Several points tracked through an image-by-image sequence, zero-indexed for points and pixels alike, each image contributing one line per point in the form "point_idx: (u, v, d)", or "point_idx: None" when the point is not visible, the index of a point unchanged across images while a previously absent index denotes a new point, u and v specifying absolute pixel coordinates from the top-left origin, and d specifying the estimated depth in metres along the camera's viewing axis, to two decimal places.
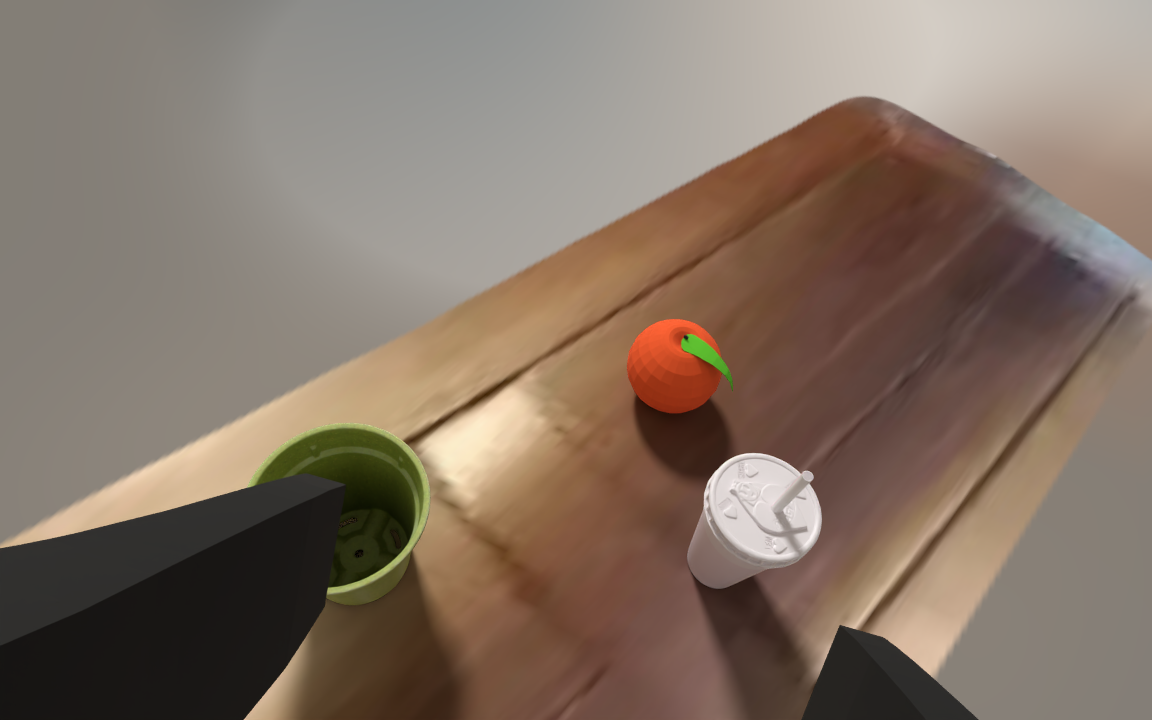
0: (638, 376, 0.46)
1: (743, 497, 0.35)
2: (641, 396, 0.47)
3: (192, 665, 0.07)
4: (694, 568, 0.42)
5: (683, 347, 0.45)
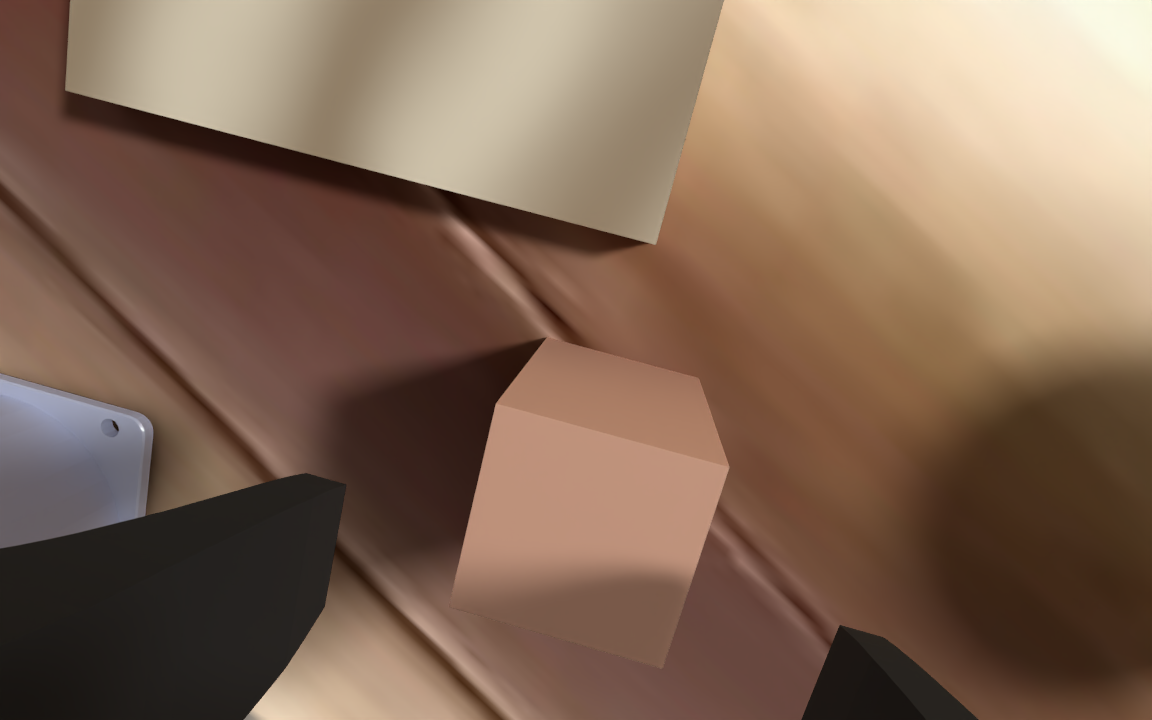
0: None
1: None
2: None
3: (192, 665, 0.07)
4: None
5: None
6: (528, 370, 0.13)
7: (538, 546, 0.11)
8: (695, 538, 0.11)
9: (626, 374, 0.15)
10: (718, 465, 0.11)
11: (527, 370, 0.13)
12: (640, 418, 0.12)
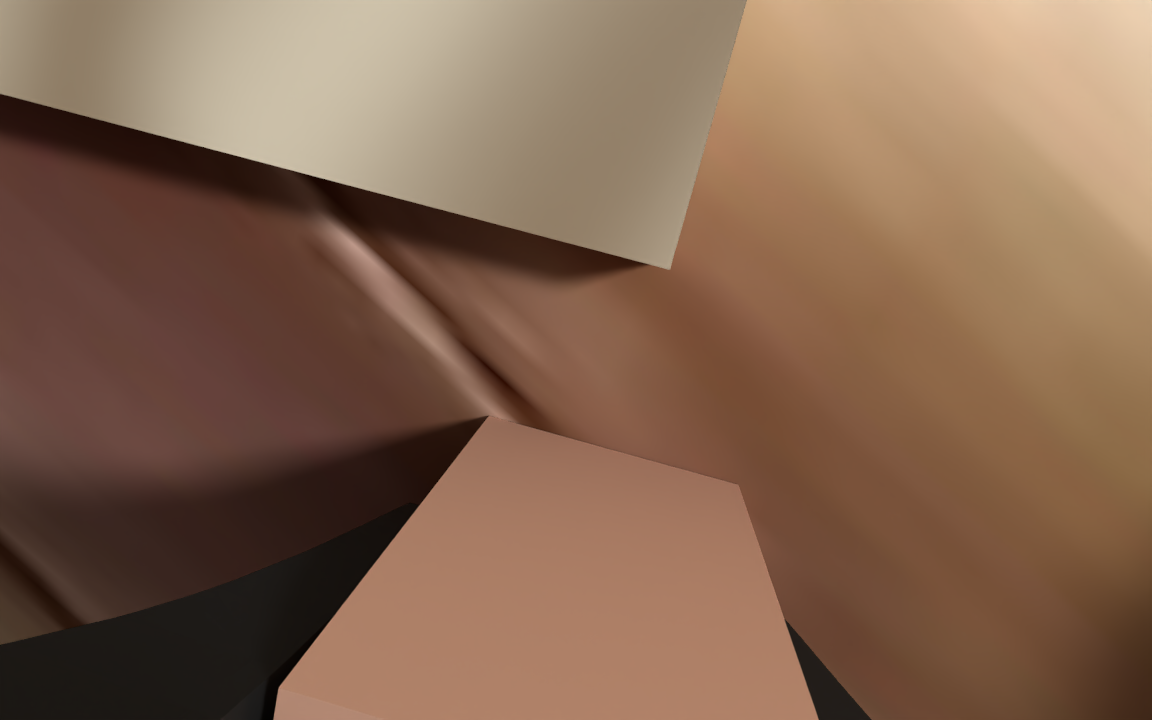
0: None
1: None
2: None
3: None
4: None
5: None
6: (422, 520, 0.07)
7: None
8: None
9: (616, 497, 0.08)
10: None
11: (418, 521, 0.07)
12: (640, 657, 0.06)
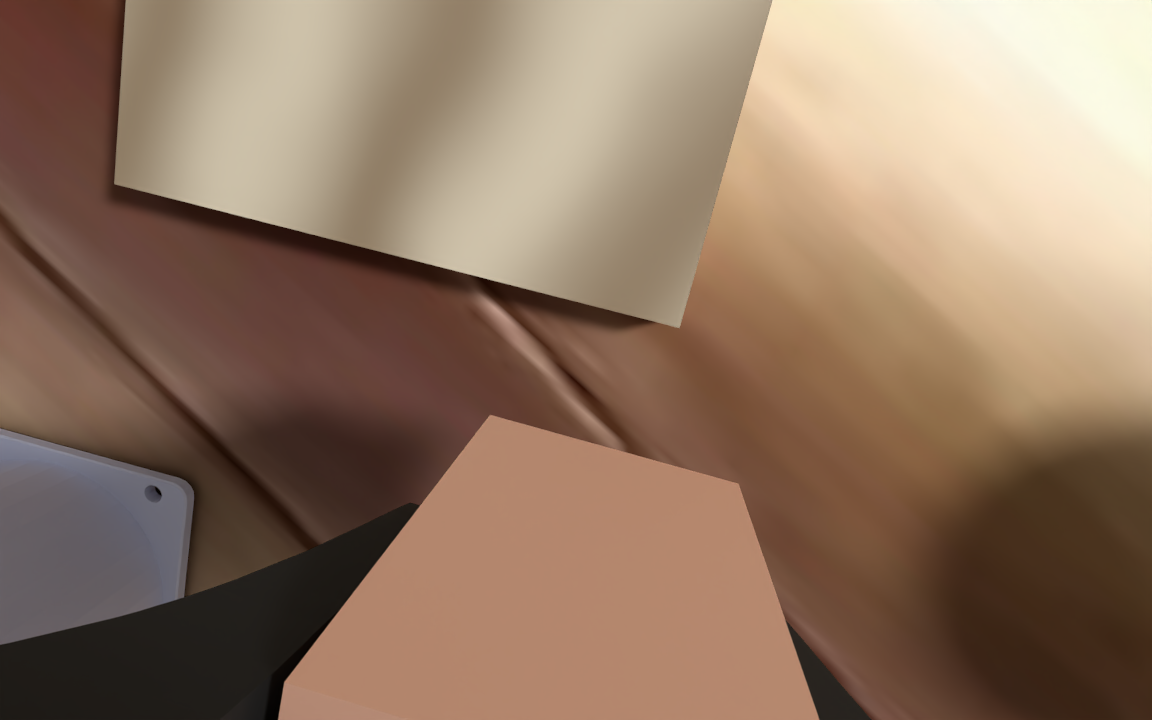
0: None
1: None
2: None
3: None
4: None
5: None
6: (423, 517, 0.07)
7: None
8: None
9: (617, 496, 0.09)
10: None
11: (421, 519, 0.07)
12: (642, 654, 0.06)
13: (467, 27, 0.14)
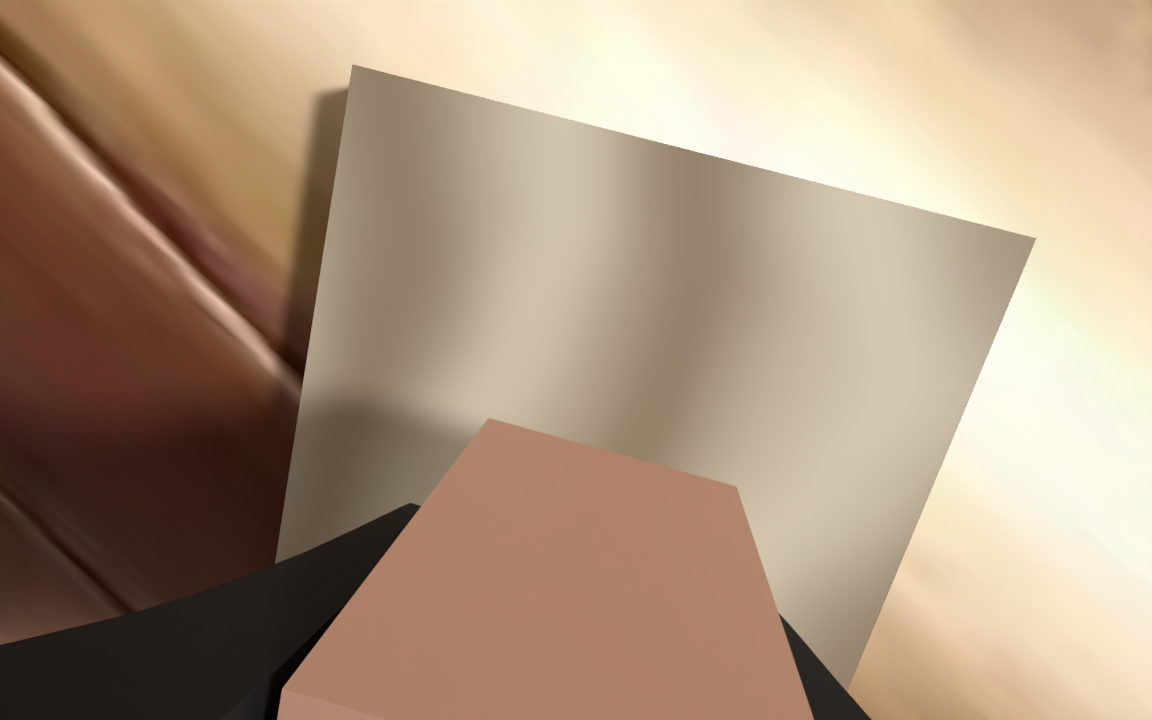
0: None
1: None
2: None
3: None
4: None
5: None
6: (422, 522, 0.07)
7: None
8: None
9: (615, 499, 0.09)
10: None
11: (419, 524, 0.07)
12: (638, 658, 0.06)
13: None
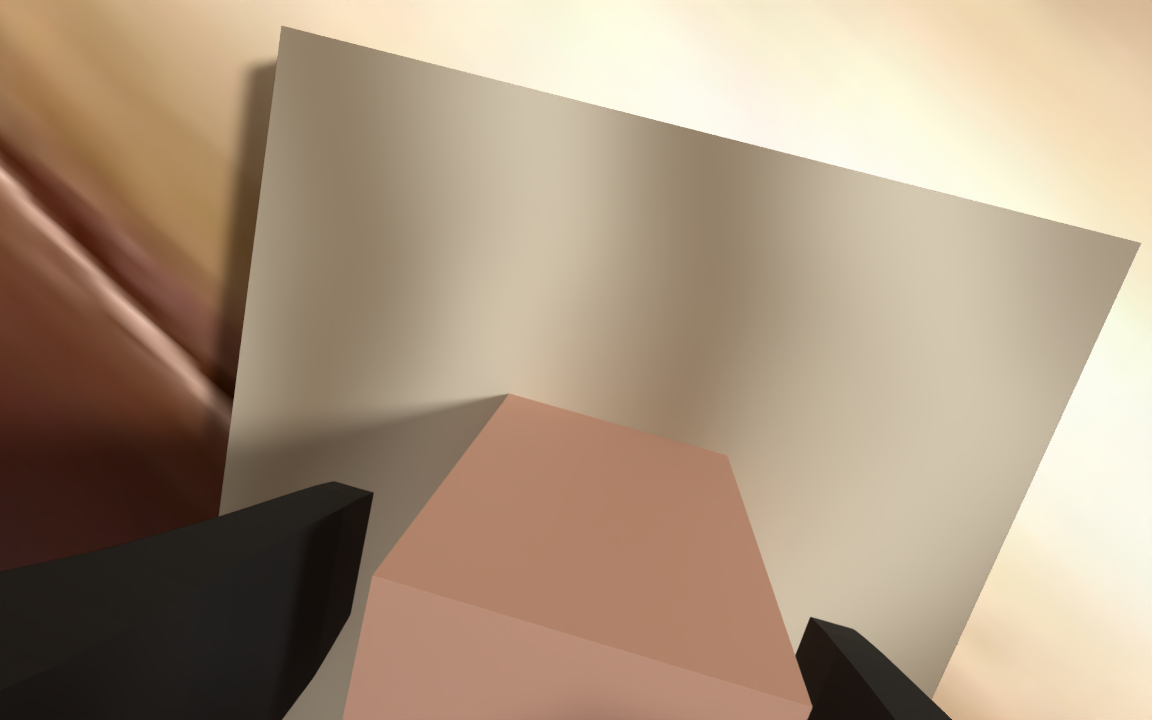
0: None
1: None
2: None
3: (230, 677, 0.06)
4: None
5: None
6: (463, 470, 0.08)
7: None
8: None
9: (622, 461, 0.10)
10: (791, 703, 0.06)
11: (460, 471, 0.08)
12: (643, 573, 0.07)
13: None
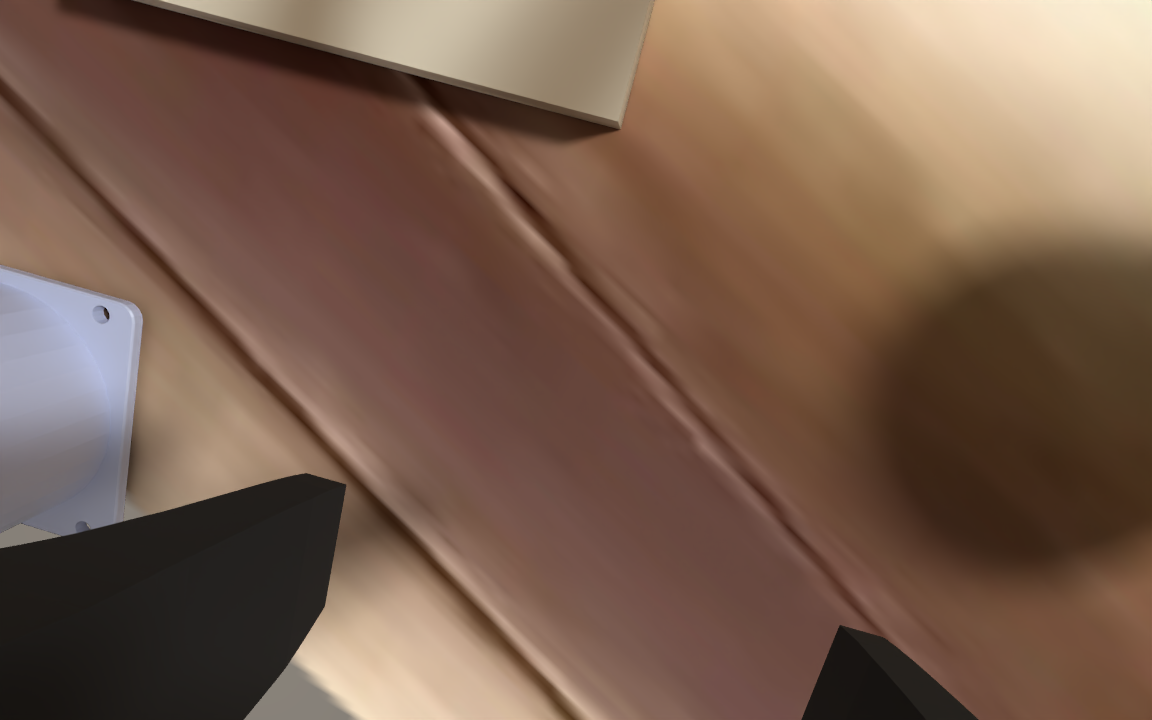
0: None
1: None
2: None
3: (192, 665, 0.07)
4: None
5: None
6: None
7: None
8: None
9: None
10: None
11: None
12: None
13: None
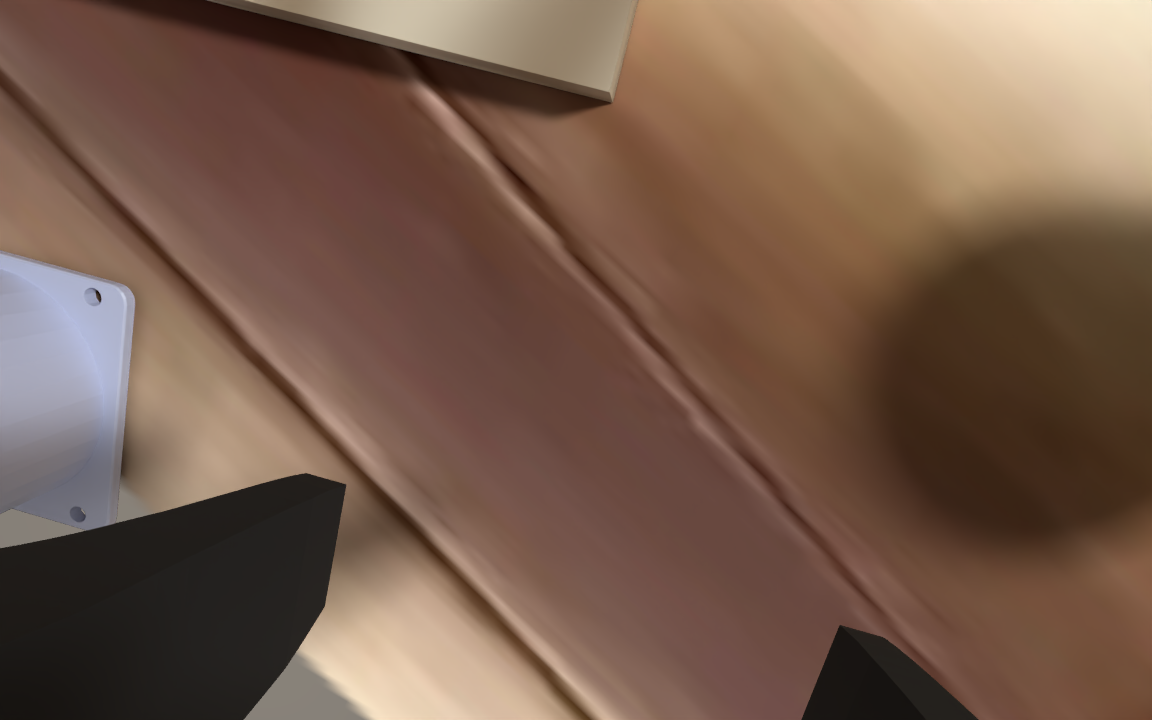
0: None
1: None
2: None
3: (192, 665, 0.07)
4: None
5: None
6: None
7: None
8: None
9: None
10: None
11: None
12: None
13: None
